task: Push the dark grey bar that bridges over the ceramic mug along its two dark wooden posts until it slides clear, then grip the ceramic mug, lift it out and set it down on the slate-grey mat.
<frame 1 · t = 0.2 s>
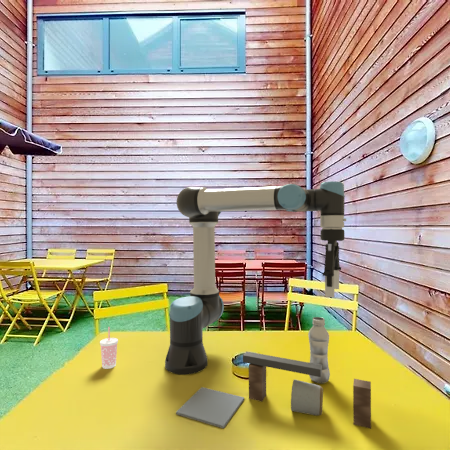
hand: (332, 292, 103), 28 cm above the table, tool pointing down, fingers open, 13 cm apart
beverage cup: (109, 366, 111), on the table
mat: (211, 406, 86), on the table
ceramic mug: (306, 409, 85), on the table
plastic bottle: (319, 381, 100), on the table
dark grey bar: (280, 363, 88), point 11 cm above the table, slide at 0.0 cm
strap stand: (306, 408, 85), on the table
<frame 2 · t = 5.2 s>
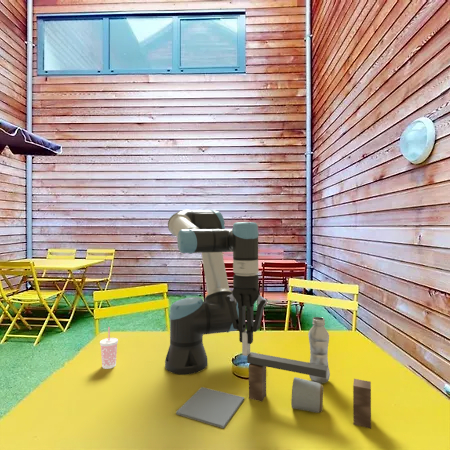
hand: (246, 353, 92), 12 cm above the table, tool pointing down, fingers closed
ceramic mug: (306, 406, 86), on the table
dark grey bar: (285, 364, 87), point 11 cm above the table, slide at 1.4 cm, touching gripper
everything else where it was.
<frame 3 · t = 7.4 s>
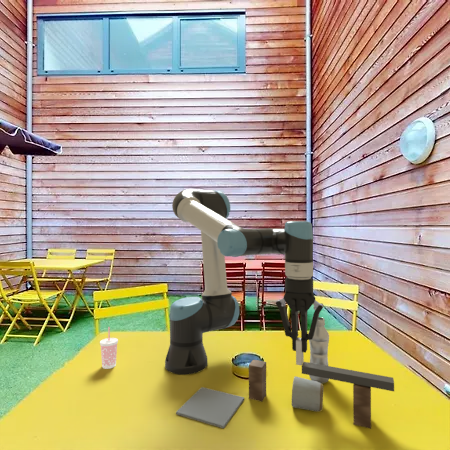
hand: (299, 362, 85), 12 cm above the table, tool pointing down, fingers closed
dark grey bar: (345, 375, 80), point 11 cm above the table, slide at 17.1 cm, touching gripper
everything else where it was.
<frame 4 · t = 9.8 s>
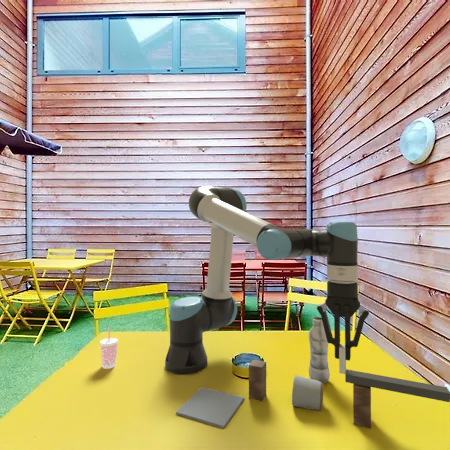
hand: (342, 371, 81), 12 cm above the table, tool pointing down, fingers closed
dark grey bar: (393, 384, 76), point 11 cm above the table, slide at 28.1 cm, touching gripper
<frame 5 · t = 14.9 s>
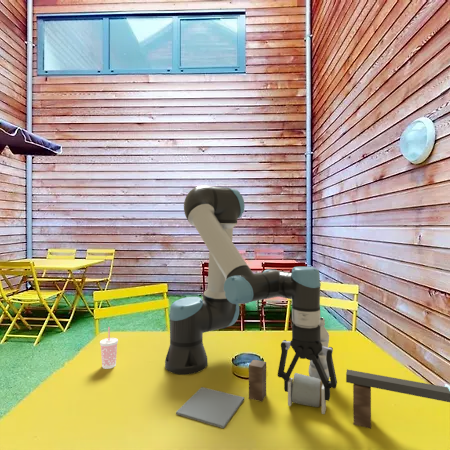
hand: (306, 407, 84), 0 cm above the table, tool pointing down, fingers closed on ceramic mug, 8 cm apart
ceramic mug: (307, 401, 88), on the table, touching gripper
dark grey bar: (394, 384, 76), point 11 cm above the table, slide at 28.3 cm
everything else where it was.
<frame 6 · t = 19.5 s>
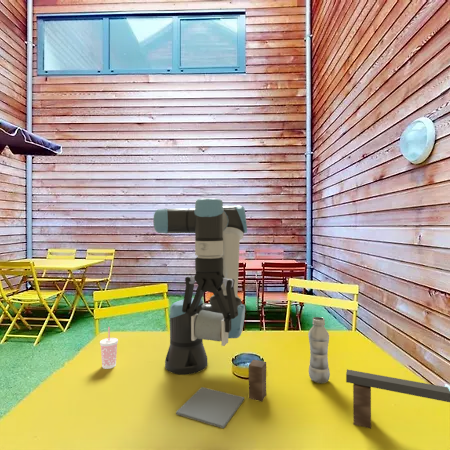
hand: (209, 341, 83), 19 cm above the table, tool pointing down, fingers closed on ceramic mug, 8 cm apart
ceramic mug: (213, 338, 86), point 19 cm above the table, touching gripper
everything else where it was.
when the fingers open (2 cm above the table, at t = 24.2 s): ceramic mug drops 1 cm, resting on mat.
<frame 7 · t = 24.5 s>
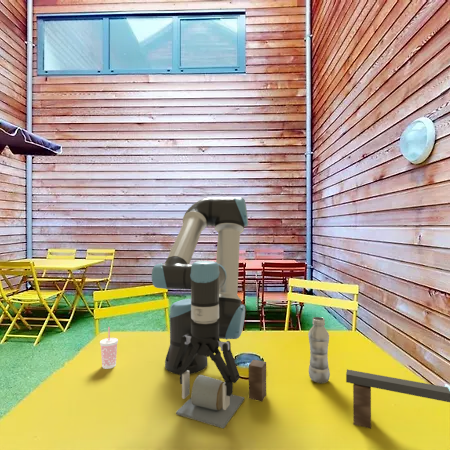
hand: (205, 401, 82), 3 cm above the table, tool pointing down, fingers open, 11 cm apart
ceramic mug: (210, 404, 86), resting on mat
everything else where it was.
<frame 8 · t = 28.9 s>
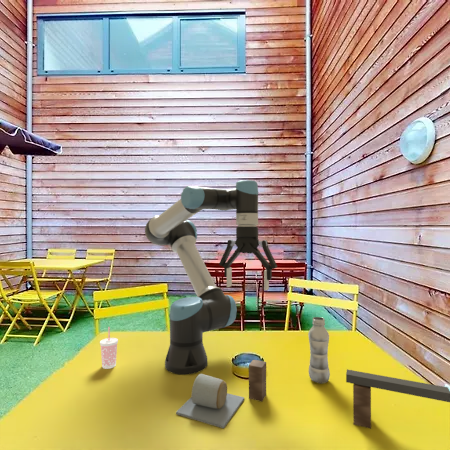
hand: (247, 288, 106), 29 cm above the table, tool pointing down, fingers open, 13 cm apart
nothing on the table moved.
at the end: dark grey bar slide at 28.3 cm; ceramic mug inside the target area on the mat (1.1 cm from its centre), point 0.4 cm above the mat's base; ceramic mug tilted 2° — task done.
